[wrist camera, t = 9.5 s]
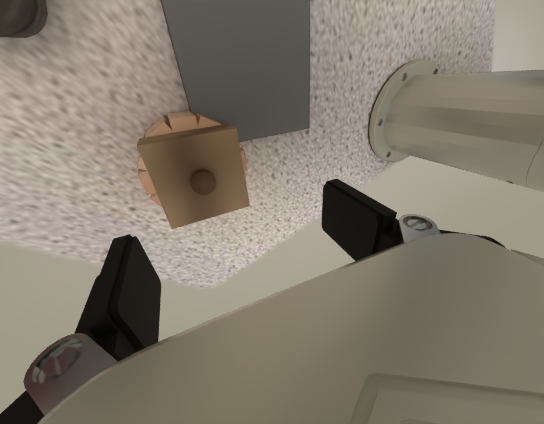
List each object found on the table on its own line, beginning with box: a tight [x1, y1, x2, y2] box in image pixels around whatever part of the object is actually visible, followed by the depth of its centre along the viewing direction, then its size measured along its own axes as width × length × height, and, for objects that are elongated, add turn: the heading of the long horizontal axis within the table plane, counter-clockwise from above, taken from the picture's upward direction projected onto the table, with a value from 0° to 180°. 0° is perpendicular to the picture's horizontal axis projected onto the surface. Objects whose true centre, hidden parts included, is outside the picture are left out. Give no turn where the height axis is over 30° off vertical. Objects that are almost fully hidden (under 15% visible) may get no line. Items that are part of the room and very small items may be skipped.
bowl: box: [137, 111, 247, 207], centre depth 20 cm, size 9×9×4 cm
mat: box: [161, 0, 310, 142], centre depth 20 cm, size 12×12×1 cm
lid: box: [137, 124, 250, 229], centre depth 17 cm, size 7×7×3 cm
